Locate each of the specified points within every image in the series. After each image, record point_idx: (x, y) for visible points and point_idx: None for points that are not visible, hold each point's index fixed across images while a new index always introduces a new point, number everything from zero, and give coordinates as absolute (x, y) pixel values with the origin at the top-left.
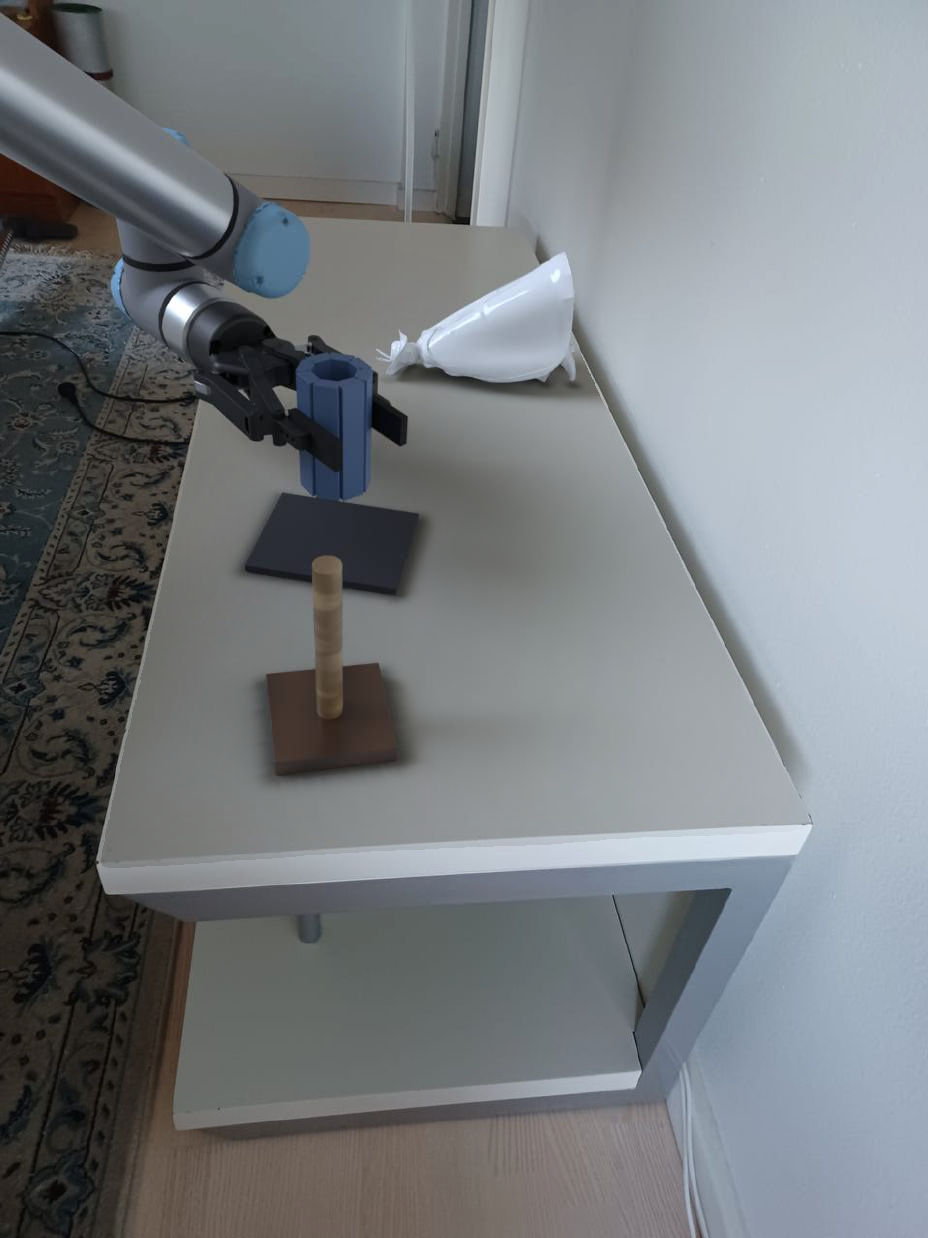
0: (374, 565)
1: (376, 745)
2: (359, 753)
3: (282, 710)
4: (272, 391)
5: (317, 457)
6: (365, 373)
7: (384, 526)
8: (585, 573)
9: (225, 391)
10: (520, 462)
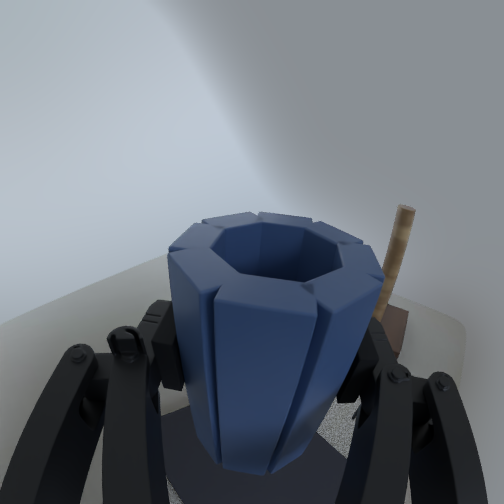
0: None
1: None
2: None
3: (398, 329)
4: (376, 455)
5: None
6: (229, 218)
7: (187, 438)
8: (133, 306)
9: (480, 485)
10: (12, 382)
